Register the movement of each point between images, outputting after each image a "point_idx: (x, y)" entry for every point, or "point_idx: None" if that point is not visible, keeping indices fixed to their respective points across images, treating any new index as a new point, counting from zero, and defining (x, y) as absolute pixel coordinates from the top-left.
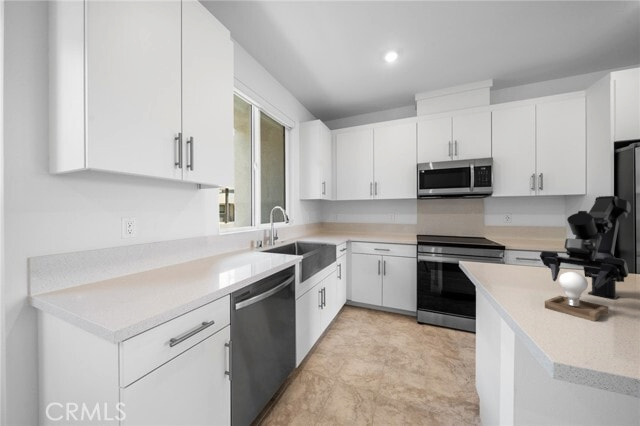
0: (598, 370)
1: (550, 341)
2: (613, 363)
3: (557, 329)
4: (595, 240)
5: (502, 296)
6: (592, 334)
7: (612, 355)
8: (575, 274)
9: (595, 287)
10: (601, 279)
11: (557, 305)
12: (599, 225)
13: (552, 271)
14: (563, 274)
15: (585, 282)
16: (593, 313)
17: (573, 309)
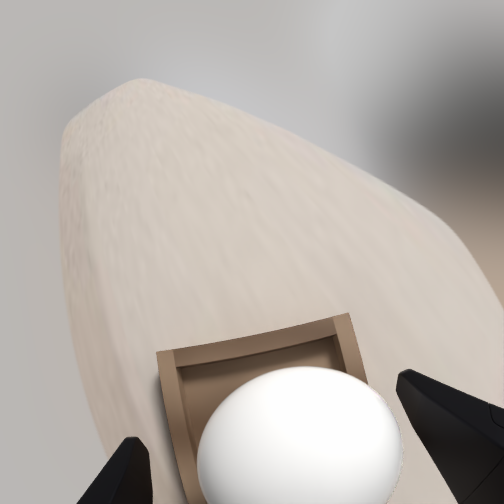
0: (93, 101)
1: (162, 105)
2: (80, 132)
3: (184, 162)
4: None
5: (474, 278)
6: (125, 216)
7: (82, 154)
8: (262, 453)
9: (132, 437)
10: (86, 490)
11: (295, 326)
12: None
13: (467, 399)
14: (363, 407)
15: (197, 461)
16: (160, 352)
17: (231, 340)
